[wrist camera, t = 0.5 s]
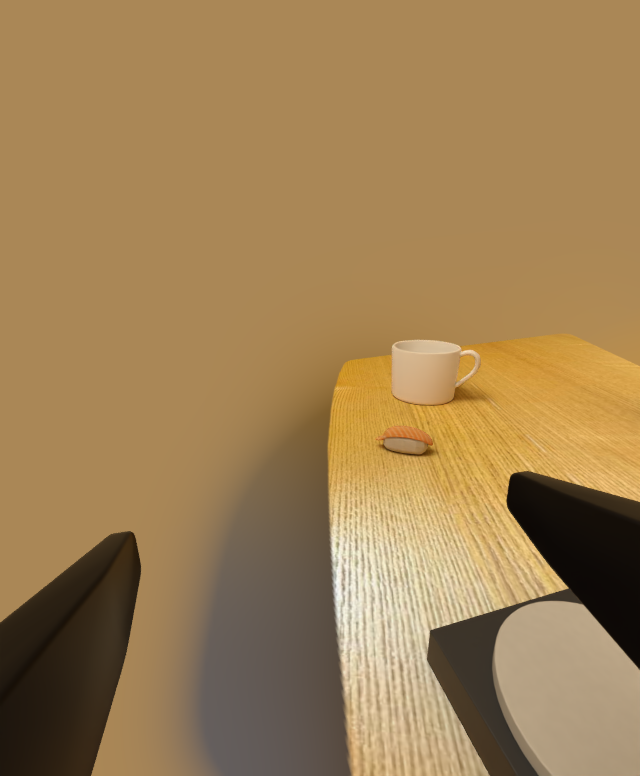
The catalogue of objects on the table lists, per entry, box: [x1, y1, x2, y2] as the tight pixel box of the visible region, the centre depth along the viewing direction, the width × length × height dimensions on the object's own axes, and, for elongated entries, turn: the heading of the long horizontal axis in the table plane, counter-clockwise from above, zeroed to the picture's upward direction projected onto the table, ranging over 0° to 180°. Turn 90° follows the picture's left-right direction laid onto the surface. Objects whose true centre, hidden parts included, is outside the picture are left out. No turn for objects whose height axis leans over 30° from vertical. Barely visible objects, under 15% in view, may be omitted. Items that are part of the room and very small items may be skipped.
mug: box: [392, 340, 481, 405], centre depth 57 cm, size 13×10×8 cm
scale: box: [427, 589, 640, 776], centre depth 15 cm, size 11×11×3 cm
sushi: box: [376, 426, 433, 454], centre depth 41 cm, size 3×6×3 cm, turn 73°
